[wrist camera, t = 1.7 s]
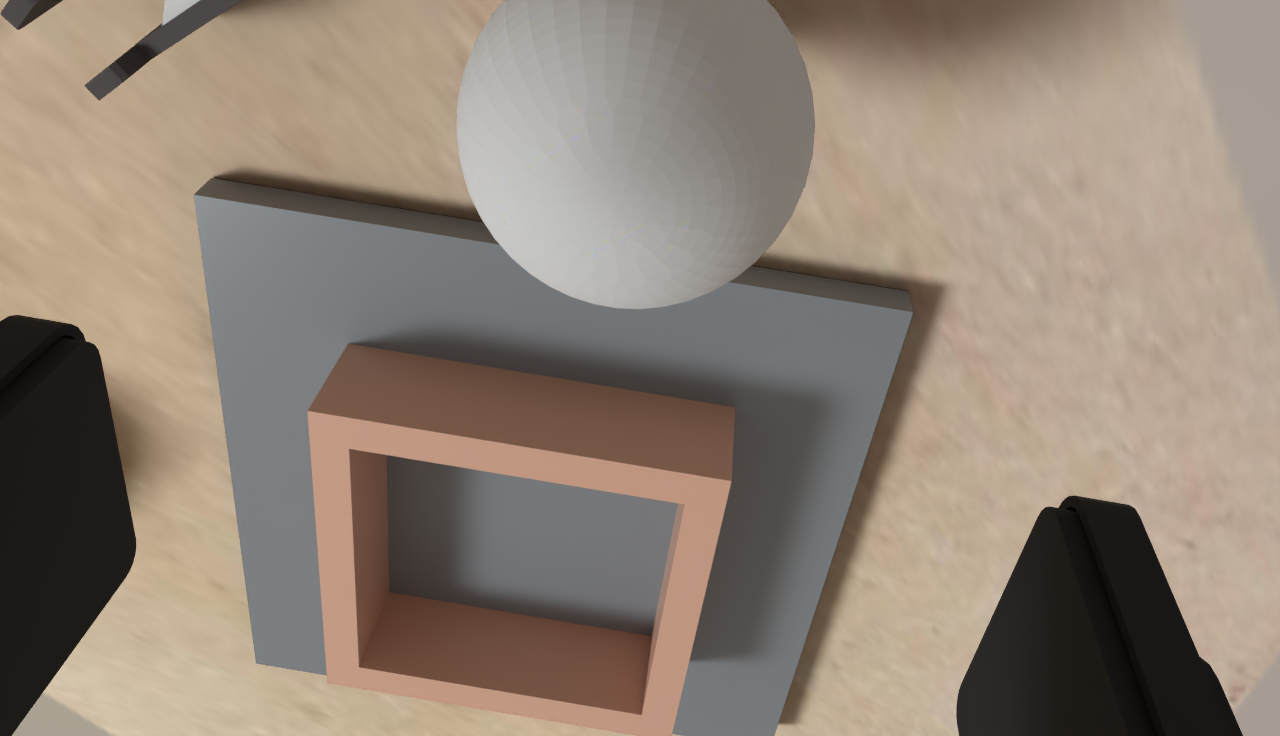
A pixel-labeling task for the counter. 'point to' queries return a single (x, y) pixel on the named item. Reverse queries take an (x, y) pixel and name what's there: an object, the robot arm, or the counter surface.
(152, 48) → the clip-on lamp
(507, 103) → the light bulb
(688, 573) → the holder board
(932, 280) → the counter surface
